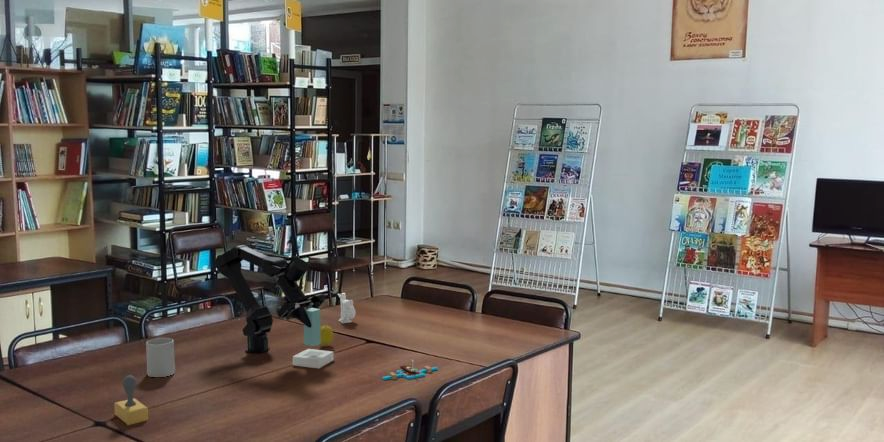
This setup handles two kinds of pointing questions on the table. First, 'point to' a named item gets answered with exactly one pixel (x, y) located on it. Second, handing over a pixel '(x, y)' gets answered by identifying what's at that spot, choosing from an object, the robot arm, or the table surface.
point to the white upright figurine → (346, 309)
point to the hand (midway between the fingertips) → (315, 325)
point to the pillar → (313, 328)
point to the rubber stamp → (130, 404)
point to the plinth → (313, 358)
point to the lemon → (326, 335)
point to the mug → (160, 357)
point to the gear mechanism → (409, 372)
